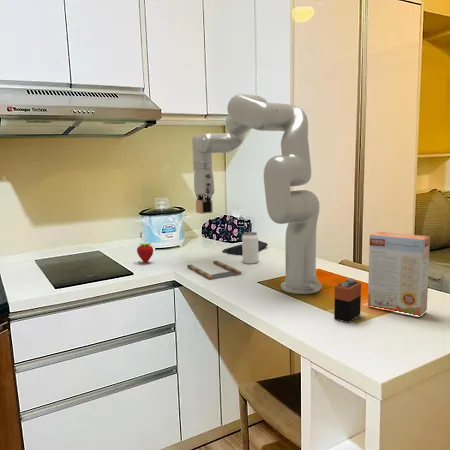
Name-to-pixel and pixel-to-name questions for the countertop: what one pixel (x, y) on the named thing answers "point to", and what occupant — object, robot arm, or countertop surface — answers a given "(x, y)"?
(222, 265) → the channel
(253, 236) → the can
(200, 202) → the block
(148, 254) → the strawberry
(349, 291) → the battery
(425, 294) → the cracker box
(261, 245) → the dark slate chunk
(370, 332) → the countertop surface
